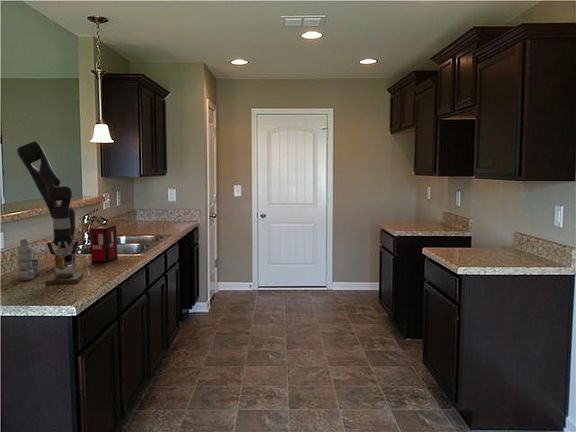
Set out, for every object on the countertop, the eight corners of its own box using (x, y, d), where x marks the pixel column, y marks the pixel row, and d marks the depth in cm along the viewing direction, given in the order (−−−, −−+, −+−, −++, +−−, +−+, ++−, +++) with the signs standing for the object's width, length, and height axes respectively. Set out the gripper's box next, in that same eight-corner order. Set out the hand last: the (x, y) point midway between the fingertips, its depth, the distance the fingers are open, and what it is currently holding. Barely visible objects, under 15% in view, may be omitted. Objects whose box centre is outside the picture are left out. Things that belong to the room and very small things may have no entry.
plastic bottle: (20, 279, 245) (17, 239, 243) (35, 278, 247) (32, 238, 245) (18, 282, 239) (15, 241, 237) (33, 280, 241) (30, 240, 239)
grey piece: (68, 278, 235) (67, 257, 233) (51, 278, 234) (50, 257, 233) (77, 273, 244) (75, 253, 243) (60, 273, 244) (59, 253, 243)
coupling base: (52, 278, 245) (52, 274, 245) (82, 277, 248) (82, 272, 248) (45, 285, 231) (45, 280, 231) (77, 283, 234) (77, 278, 234)
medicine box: (24, 278, 246) (23, 261, 245) (19, 277, 249) (17, 260, 248) (39, 275, 253) (38, 259, 252) (34, 274, 255) (33, 258, 254)
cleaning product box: (102, 258, 299) (101, 225, 297) (117, 258, 299) (115, 225, 297) (91, 263, 283) (89, 229, 281) (107, 263, 283) (105, 228, 281)
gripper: (44, 229, 231) (47, 265, 233) (77, 227, 236) (79, 262, 238) (46, 227, 238) (48, 262, 240) (78, 225, 243) (80, 259, 245)
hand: (64, 262), depth 239 cm, fingers closed on grey piece, 4 cm apart
